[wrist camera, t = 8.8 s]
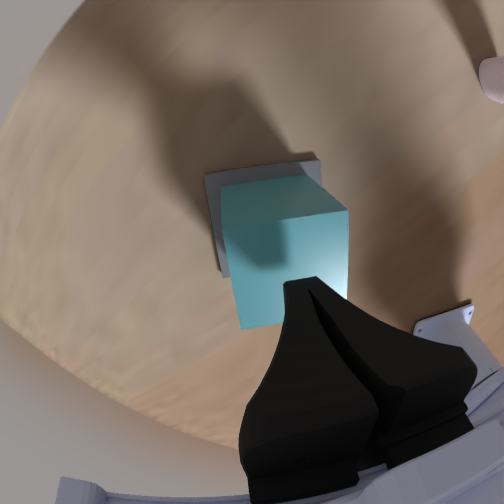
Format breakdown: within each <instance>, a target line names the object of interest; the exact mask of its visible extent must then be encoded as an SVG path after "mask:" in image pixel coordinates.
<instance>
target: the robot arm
mask: <svg viewBox="0 0 504 504" xmlns="http://www.w3.org/2000/svg"><path fill="white" fill-rule="evenodd" d="M283 295H284V307H285V314H284V320H283V326H282V331H281V335H280V338H279V342H278V345H277V348H276V351H275V354H274V356H273V359H272V361H271V364H270V366H269V368H268V370H267V372H266V374H265V376H264V378H263V380H262V382H261V384H260V386H259V387H258V389H257V390H256V392H255V394H254V395H253V397H252V398H251V400H250V401H249V403H248V404H247V406H246V409H245V413H244V416H243V420H242V424H241V428H240V433H239V445H238V446H239V455H240V462H241V465H242V467H243V469H244V471H245V473H246V476H247V478H248V487H249V494H246V495H235V496H221V497H197V498H196V497H193V498H192V497H189V498H188V497H184V498H182V497H153V496H138V495H128V494H119V493H111V492H106V491H105V490H104V489H103V488H102V487H100V486H99V485H97V484H95V483H92V482H88V481H84V480H78V479H73V478H68V477H61V478H60V482H59V487H58V492H57V497H56V503H55V504H504V366H502V365H501V363H500V362H499V361H498V360H497V358H496V357H495V356H494V355H493V353H492V352H491V351H490V350H489V348H488V347H487V346H486V345H485V344H484V342H483V341H482V340H481V339H480V338H479V336H478V335H477V334H476V333H475V332H474V331H473V329H472V328H471V327H470V326H469V322H470V319H471V316H472V313H473V310H474V305H473V304H469V305H466V306H463V307H460V308H457V309H455V310H452V311H449V312H446V313H443V314H440V315H437V316H434V317H430V318H427V319H424V320H421V321H418V322H417V323H416V325H415V329H414V332H413V335H412V334H409V333H407V332H404V331H402V330H399V329H397V328H395V327H392V326H390V325H388V324H386V323H384V322H382V321H380V320H378V319H376V318H374V317H373V316H371V315H369V314H367V313H366V312H364V311H363V310H361V309H360V308H358V307H356V306H355V305H353V304H352V303H351V302H349V301H348V300H346V299H345V298H344V297H342V296H341V295H340V294H338V293H337V292H336V291H334V290H333V289H332V288H331V287H329V286H328V285H327V284H326V283H324V282H323V281H322V280H321V279H319V278H318V277H317V276H313V277H308V278H302V279H296V280H290V281H285V282H284V283H283Z"/></svg>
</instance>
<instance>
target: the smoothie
mask: <svg viewBox="0 0 504 504" xmlns="http://www.w3.org/2000/svg"><path fill="white" fill-rule="evenodd" d="M479 80H480V84H481V87H482V89H483V91H484V93H485V94H486V96H487V97H488V98H489V99H491V100H494V101H497V102H500V103H503V104H504V56H499V57H493V58H487V59H484V60H483V61H482V62H481V64H480V66H479Z"/></svg>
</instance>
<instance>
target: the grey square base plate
mask: <svg viewBox="0 0 504 504" xmlns="http://www.w3.org/2000/svg"><path fill="white" fill-rule="evenodd" d="M306 174H307V175H308V176H309V177H310V178H312V179H313V180H314V181H315V182H316V183H318V184H319V185H320V186H321V187H322V184H321V167H320V160H319V159H312V160H302V161H293V162H284V163H276V164H268V165H261V166H253V167H246V168H240V169H233V170H226V171H220V172H214V173H208V174H204V176H203V177H204V182H205V188H206V194H207V199H208V205H209V210H210V215H211V221H212V226H213V231H214V236H215V242H216V247H217V252H218V257H219V262H220V267H221V272H222V277H223V278H227V277H231V276H230V270H229V265H228V260H227V255H226V249H225V244H224V239H223V233H222V220H221V186H228V185H234V184H240V183H247V182H253V181H260V180H267V179H274V178H282V177H290V176H298V175H306Z"/></svg>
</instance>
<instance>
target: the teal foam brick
mask: <svg viewBox="0 0 504 504" xmlns="http://www.w3.org/2000/svg"><path fill="white" fill-rule="evenodd" d="M221 220H222V233H223V239H224V244H225V249H226V255H227V260H228V265H229V270H230V276H231V281H232V286H233V291H234V296H235V301H236V306H237V311H238V316H239V321H240V326H241V330H243V329H249V328H255V327H261V326H267V325H273V324H279V323H283V320H284V314H285V307H284V295H283V283H284V282H285V281H290V280H296V279H302V278H308V277H313V276H317V277H318V278H319V279H321V280H322V281H323V282H324V283H326V284H327V285H328V286H329V287H331V288H332V289H333V290H334V291H336V292H337V293H338V294H340V295H341V296H342V297H344V298H345V299H347V278H348V240H349V210H348V209H347V208H345V207H344V206H343V205H342V204H341V203H340V202H339V201H337V200H336V199H335V198H334V197H333V196H332V195H331V194H329V193H328V192H327V191H326V190H325V189H324V188H322V187H321V186H320V185H319V184H318V183H316V182H315V181H314V180H313V179H312V178H310V177H309V176H308V175H307V174H306V175H298V176H290V177H282V178H274V179H267V180H260V181H253V182H247V183H240V184H234V185H228V186H221Z"/></svg>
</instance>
